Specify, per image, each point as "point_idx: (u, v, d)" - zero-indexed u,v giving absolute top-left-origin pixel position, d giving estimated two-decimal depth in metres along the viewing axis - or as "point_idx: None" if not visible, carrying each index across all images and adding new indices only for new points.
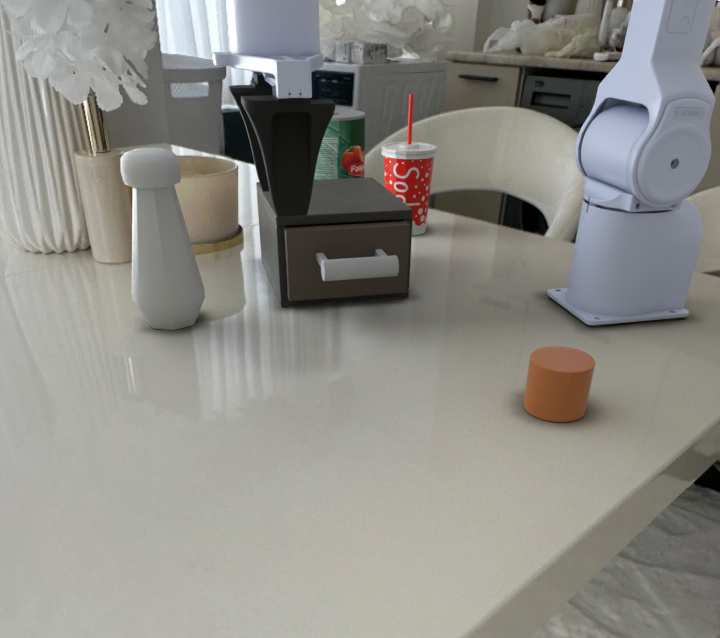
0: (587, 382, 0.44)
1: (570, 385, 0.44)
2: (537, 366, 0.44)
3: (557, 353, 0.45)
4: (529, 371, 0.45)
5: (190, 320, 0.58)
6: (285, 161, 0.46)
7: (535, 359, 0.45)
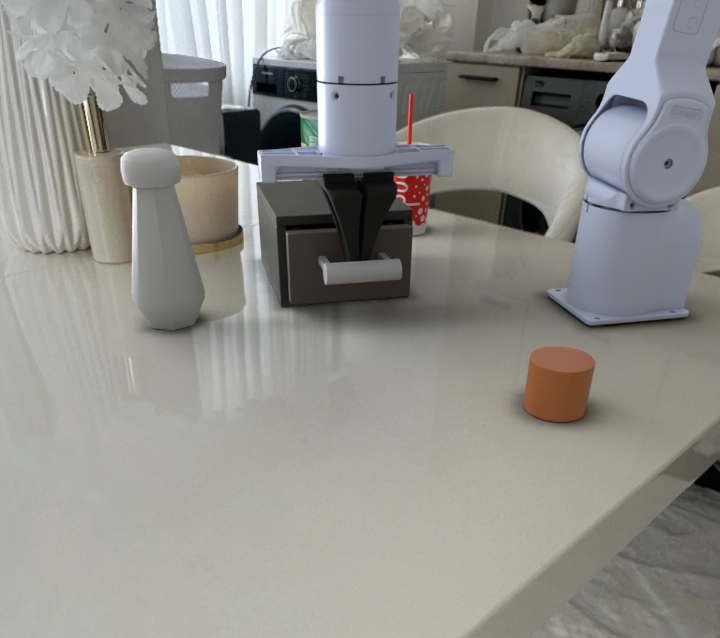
0: (587, 382, 0.44)
1: (570, 385, 0.44)
2: (537, 366, 0.44)
3: (557, 353, 0.45)
4: (529, 371, 0.45)
5: (190, 320, 0.58)
6: None
7: (535, 359, 0.45)
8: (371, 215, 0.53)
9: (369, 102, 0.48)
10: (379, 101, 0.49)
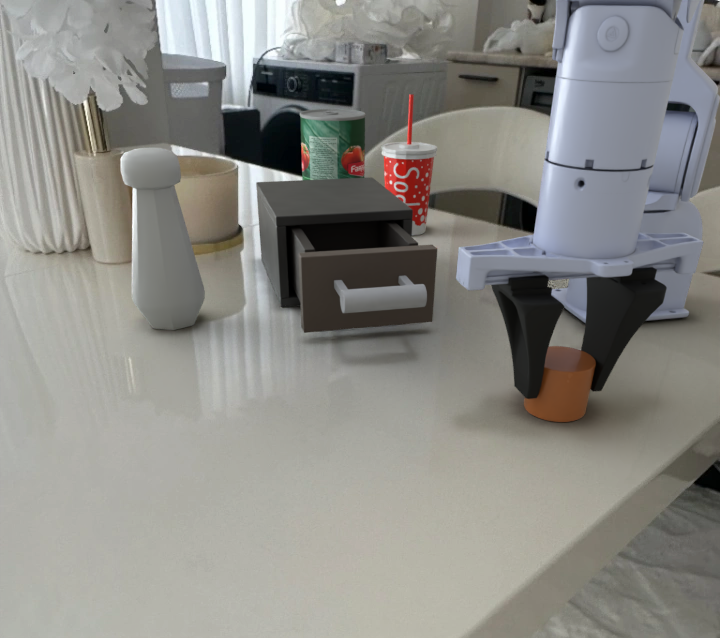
0: (588, 382, 0.44)
1: (571, 385, 0.44)
2: None
3: (557, 353, 0.46)
4: None
5: (190, 320, 0.58)
6: None
7: None
8: None
9: None
10: None
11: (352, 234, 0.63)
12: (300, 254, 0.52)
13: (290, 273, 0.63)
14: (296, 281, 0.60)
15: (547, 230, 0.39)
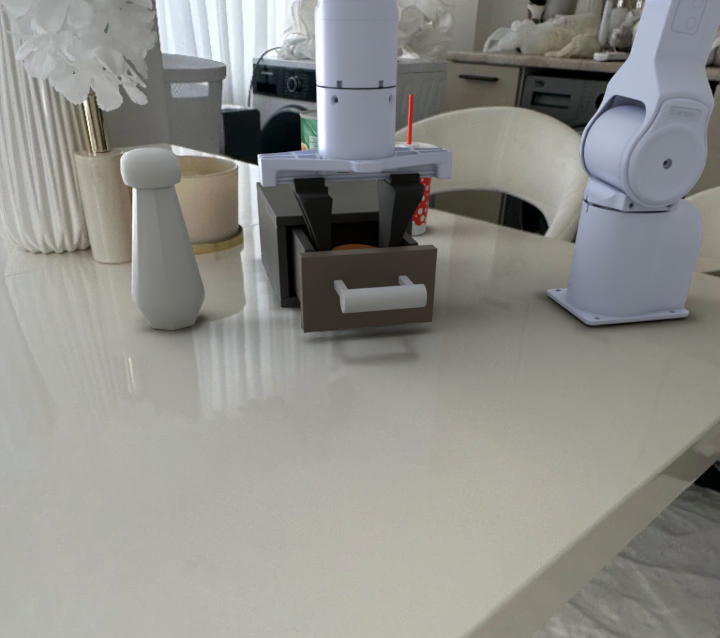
0: None
1: None
2: None
3: (354, 248, 0.58)
4: None
5: (190, 320, 0.58)
6: None
7: None
8: None
9: None
10: None
11: (352, 234, 0.63)
12: (300, 254, 0.52)
13: (290, 273, 0.63)
14: (296, 281, 0.60)
15: (321, 139, 0.51)
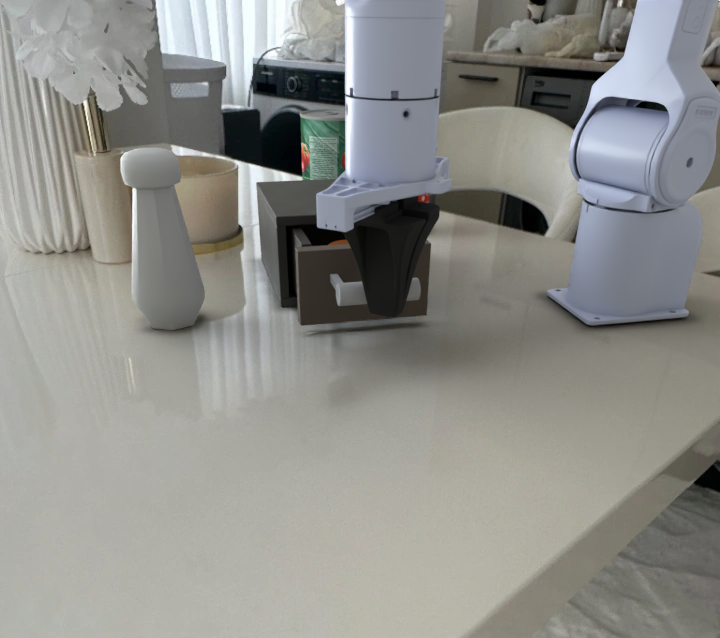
0: None
1: None
2: None
3: None
4: None
5: (190, 320, 0.58)
6: None
7: None
8: None
9: None
10: None
11: None
12: (297, 248, 0.53)
13: None
14: (293, 276, 0.61)
15: (378, 163, 0.42)
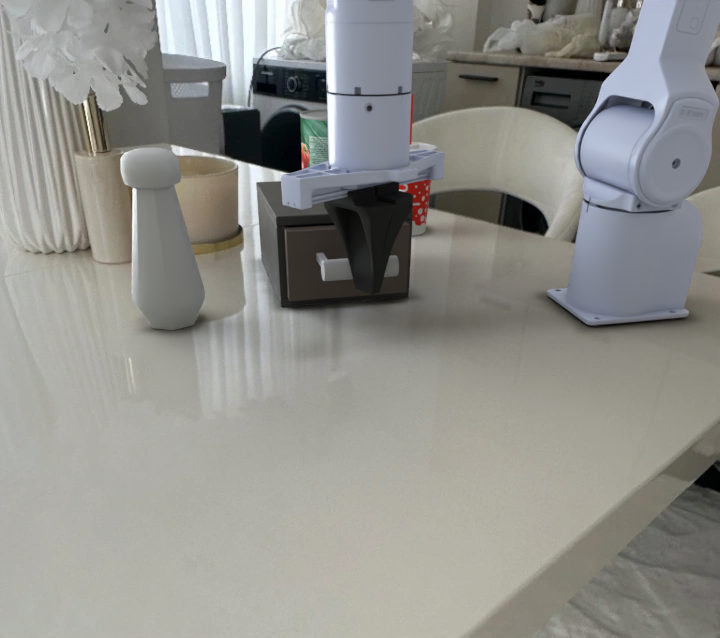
0: None
1: None
2: None
3: None
4: None
5: (190, 320, 0.58)
6: None
7: None
8: None
9: None
10: None
11: None
12: (285, 229, 0.58)
13: None
14: None
15: (346, 151, 0.48)
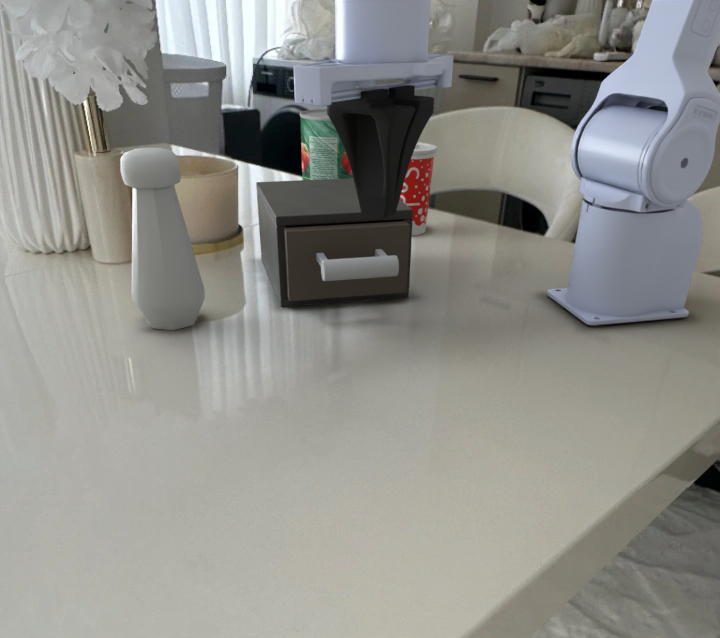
0: None
1: None
2: None
3: (334, 223, 0.64)
4: None
5: (190, 320, 0.58)
6: None
7: (315, 225, 0.63)
8: None
9: None
10: None
11: None
12: (285, 229, 0.58)
13: None
14: None
15: (363, 41, 0.41)
